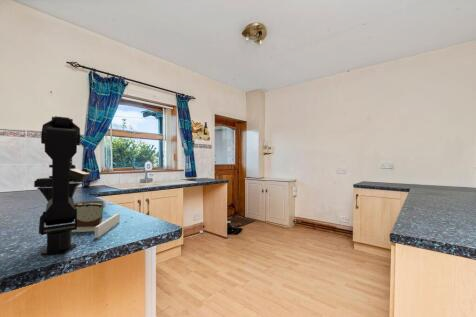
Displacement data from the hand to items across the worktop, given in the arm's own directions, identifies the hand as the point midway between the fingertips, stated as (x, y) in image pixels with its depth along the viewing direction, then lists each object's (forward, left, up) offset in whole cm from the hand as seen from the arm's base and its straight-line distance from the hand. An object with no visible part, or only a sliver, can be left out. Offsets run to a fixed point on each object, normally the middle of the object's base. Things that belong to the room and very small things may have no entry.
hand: (61, 203), depth 79 cm
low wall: (+6, -14, -12) cm, 19 cm away
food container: (+12, -5, -12) cm, 17 cm away
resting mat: (+10, -5, -12) cm, 16 cm away
